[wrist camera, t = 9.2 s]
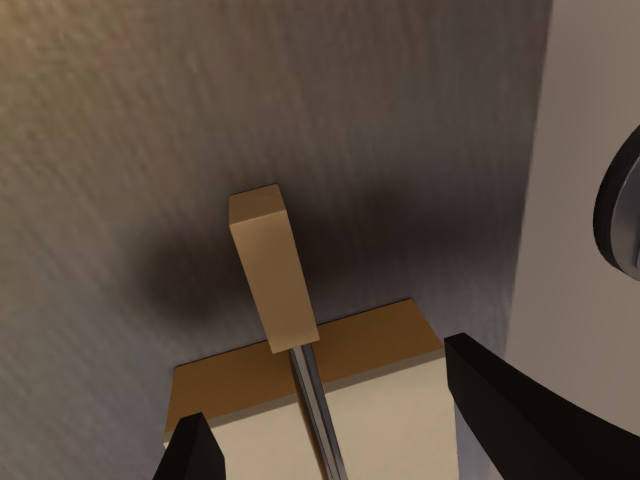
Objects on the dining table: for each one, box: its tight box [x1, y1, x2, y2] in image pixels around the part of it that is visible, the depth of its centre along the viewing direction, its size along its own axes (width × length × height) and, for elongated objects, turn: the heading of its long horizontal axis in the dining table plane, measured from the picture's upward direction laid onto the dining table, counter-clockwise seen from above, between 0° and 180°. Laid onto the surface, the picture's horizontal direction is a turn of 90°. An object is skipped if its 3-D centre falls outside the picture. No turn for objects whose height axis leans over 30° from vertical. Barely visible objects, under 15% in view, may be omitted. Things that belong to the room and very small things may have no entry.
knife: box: [229, 184, 341, 480], centre depth 21 cm, size 18×2×3 cm, turn 12°
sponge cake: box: [163, 299, 459, 480], centre depth 23 cm, size 13×12×5 cm
